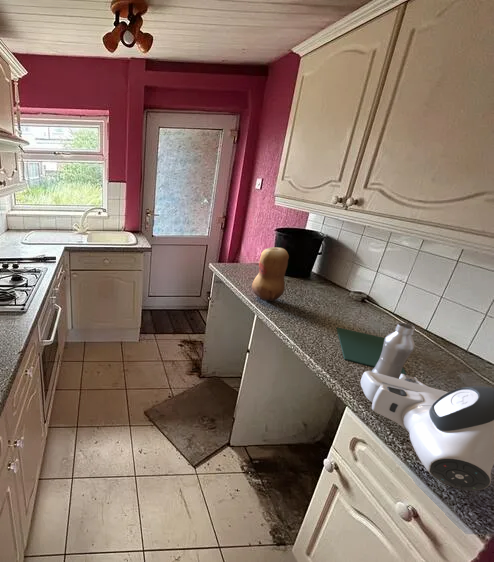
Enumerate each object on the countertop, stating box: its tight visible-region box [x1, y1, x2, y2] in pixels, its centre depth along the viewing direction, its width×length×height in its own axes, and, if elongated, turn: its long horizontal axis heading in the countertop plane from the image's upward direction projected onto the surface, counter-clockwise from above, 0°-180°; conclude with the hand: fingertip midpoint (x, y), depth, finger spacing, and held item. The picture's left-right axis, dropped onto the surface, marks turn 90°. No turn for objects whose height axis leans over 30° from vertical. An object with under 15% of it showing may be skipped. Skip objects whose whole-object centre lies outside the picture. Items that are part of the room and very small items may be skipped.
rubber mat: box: [336, 326, 407, 375], centre depth 109 cm, size 24×16×1 cm, turn 152°
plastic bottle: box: [370, 322, 416, 379], centre depth 87 cm, size 6×7×20 cm
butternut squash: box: [251, 246, 290, 302], centre depth 142 cm, size 14×13×25 cm
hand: (407, 377), depth 77 cm, fingers closed
